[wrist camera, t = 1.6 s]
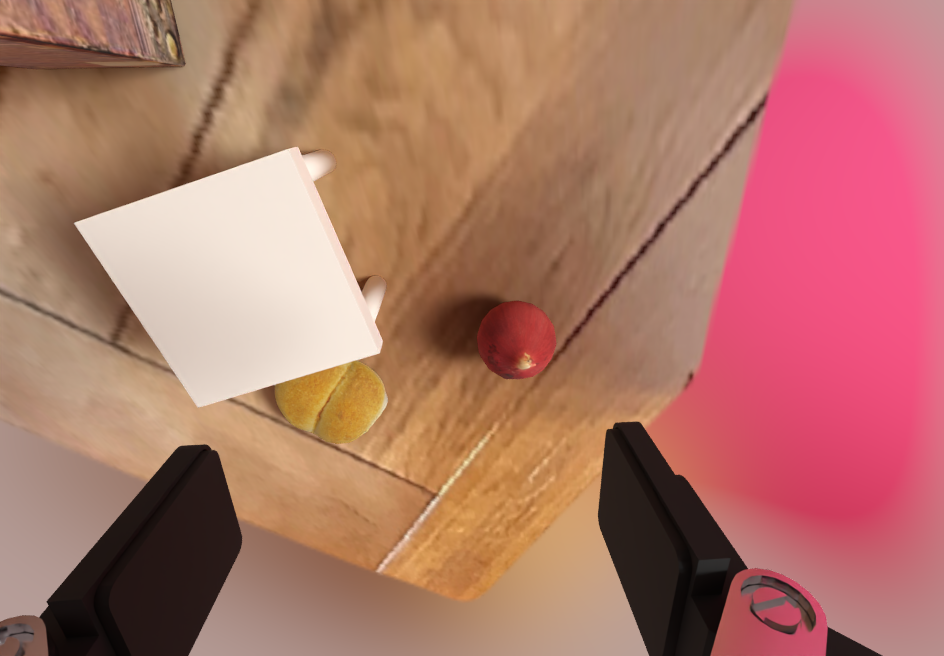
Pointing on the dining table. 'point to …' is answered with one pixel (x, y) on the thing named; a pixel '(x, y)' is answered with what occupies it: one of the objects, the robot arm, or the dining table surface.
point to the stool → (241, 277)
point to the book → (89, 34)
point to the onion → (516, 340)
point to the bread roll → (334, 401)
